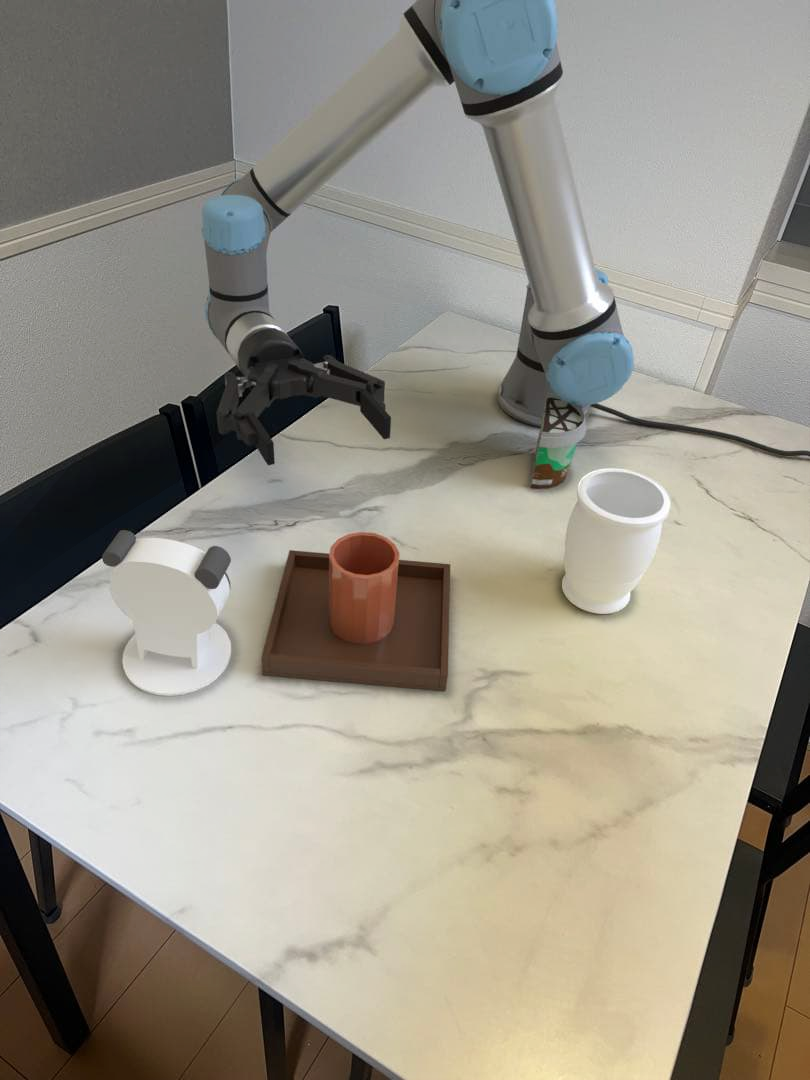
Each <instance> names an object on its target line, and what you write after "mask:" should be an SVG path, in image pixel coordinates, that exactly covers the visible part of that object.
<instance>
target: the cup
mask: <svg viewBox="0 0 810 1080" xmlns="http://www.w3.org/2000/svg"><path fill="white" fill-rule="evenodd" d="M329 548H330V549H329V553H328V554H329V623H330V627H331V629H332V630H333V632H334V633H335V634H336V635H337V636H338V637H340V638H341V639H343V640H345V641H348V642H351V643H356V644H368V643H373V642H376V641H379V640H381V639H383V638H384V637H386V636H387V635H388V634H389V633H390V631H391V630H392V628H393V625H394V615H395V603H396V591H397V578H398V566H399V560H400V551H399V550H398V548H397V545H396V544H395V543H394V542H393V541H392V540H390V539H389V538H388V537H386V536H383V535H382V534H378V533H375V532H366V531H359V532H358V531H357V532H353V533H348V534H346V535H343V536H341V537H340V538H337V540H336V541H335V542H334V543H333V544H332V545H330V547H329Z"/></svg>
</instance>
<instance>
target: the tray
mask: <svg viewBox="0 0 810 1080" xmlns="http://www.w3.org/2000/svg"><path fill="white" fill-rule="evenodd" d="M450 596H451V564H450V563H442V562H428V561H419V560H407V559H399V566H398V578H397V591H396V603H395V615H394V625H393V628H392V630H391V631H390V633H389V634H388V635H387V636H386V637H384V638H383V639H381V640H379V641H376V642H373V643H368V644H356V643H351V642H348V641H345V640H343V639H341V638H340V637H338V636H337V635H336V634H335V633H334V632H333V630H332V629H331V627H330V623H329V553H327V552H315V551H303V550H292V549H289V551H288V555H287V558H286V561H285V566H284V569H283V574H282V577H281V581H280V585H279V588H278V593H277V596H276V599H275V604H274V608H273V611H272V615H271V619H270V620H271V621H270V623H269V627H268V631H267V635H266V638H265V642H264V646H263V649H262V650H263V651H262V654H261V657H260V658H261V659H260V663H261V664H260V665H261V675H262V676H270V677H281V678H293V679H304V680H313V681H314V680H316V681H328V682H338V683H339V682H340V683H348V684H349V683H351V684H361V685H373V686H382V687H385V686H386V687H393V688H395V687H396V688H404V689H405V688H407V689H418V690H429V691H439V692H440V691H441V692H446V690H447V684H448V679H449V678H448V677H449V652H450V651H449V649H450V648H449V646H450V644H449V643H450V605H451V604H450V598H451V597H450Z"/></svg>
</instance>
